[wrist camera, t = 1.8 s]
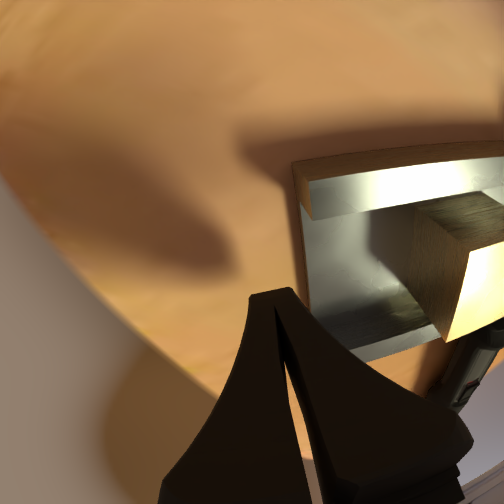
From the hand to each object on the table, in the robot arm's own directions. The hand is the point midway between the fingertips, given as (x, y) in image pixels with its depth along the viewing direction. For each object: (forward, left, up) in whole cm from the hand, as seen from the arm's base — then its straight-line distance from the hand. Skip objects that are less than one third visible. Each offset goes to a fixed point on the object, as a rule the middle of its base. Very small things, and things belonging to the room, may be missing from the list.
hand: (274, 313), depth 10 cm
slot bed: (-8, 0, -2) cm, 8 cm away
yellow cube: (-8, 0, -2) cm, 8 cm away
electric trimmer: (-12, +11, -2) cm, 16 cm away
